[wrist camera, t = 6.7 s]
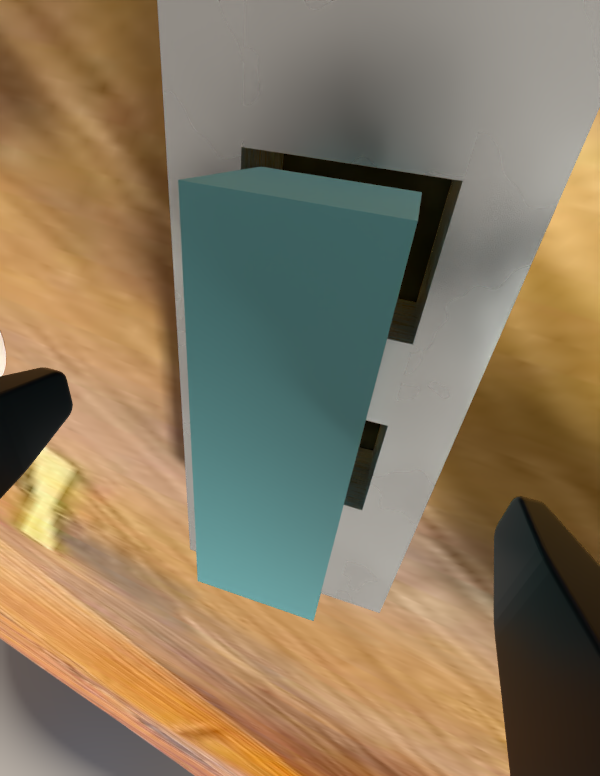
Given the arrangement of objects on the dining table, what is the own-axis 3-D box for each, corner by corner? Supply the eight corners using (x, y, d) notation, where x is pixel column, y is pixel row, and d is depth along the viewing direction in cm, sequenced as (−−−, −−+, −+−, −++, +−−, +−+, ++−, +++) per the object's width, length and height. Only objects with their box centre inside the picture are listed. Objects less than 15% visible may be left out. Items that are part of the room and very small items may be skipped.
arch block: (357, 439, 15) (313, 621, 10) (282, 420, 16) (197, 580, 10) (424, 175, 10) (417, 220, 5) (312, 157, 11) (178, 179, 5)
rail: (386, 547, 18) (379, 612, 15) (221, 496, 19) (190, 549, 17) (659, -158, 7) (787, -325, 4) (226, -167, 8) (139, -299, 6)
